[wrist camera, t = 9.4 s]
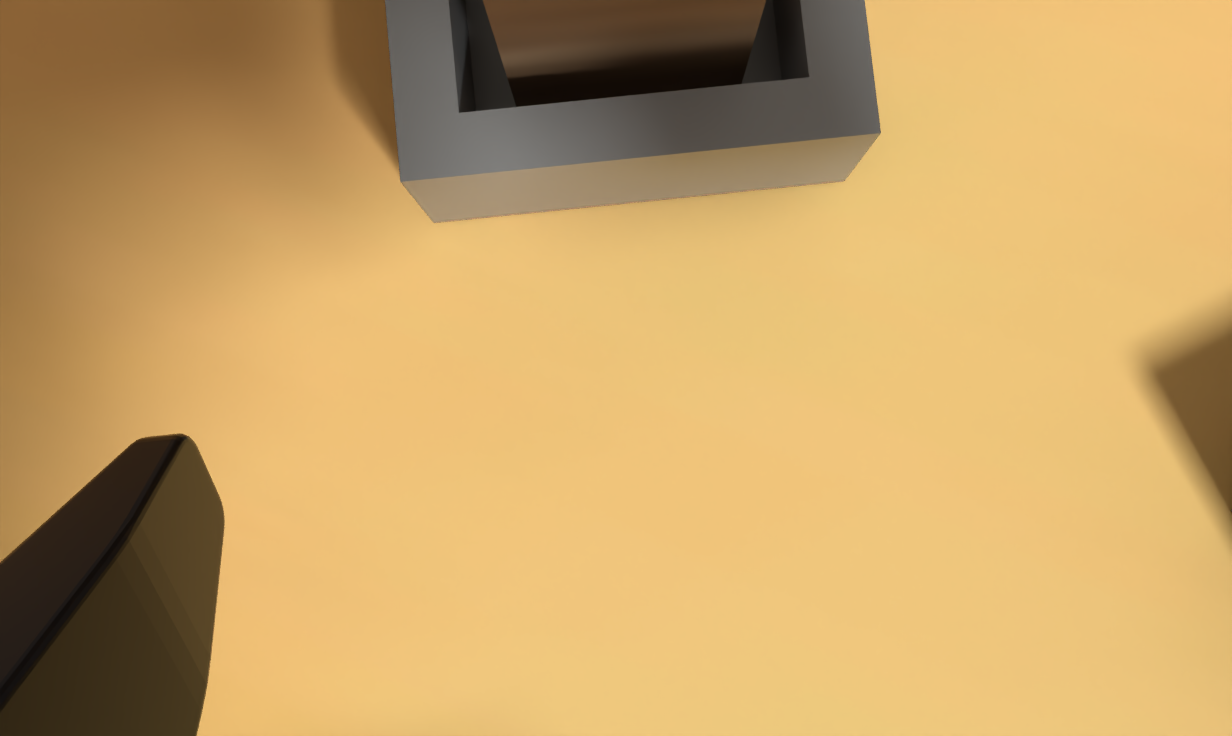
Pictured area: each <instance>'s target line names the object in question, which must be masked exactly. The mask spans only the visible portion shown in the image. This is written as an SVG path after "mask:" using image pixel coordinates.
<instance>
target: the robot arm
mask: <svg viewBox="0 0 1232 736" xmlns="http://www.w3.org/2000/svg"><path fill="white" fill-rule="evenodd" d="M223 536H224V511H223V506H222V502H221V499H220V497H219V494H218V492H217V490H216V488H215V485H214V483H213V481H212V479H211V477H210V474H209V472H208V470H207V468H206V465H205V463H204V461H203V459H202V456H201V454H200V452H199V450H198V448H197V446H196V444H195V443H194V441H193V440H192V439H191V438H190V437H189V436H187V435H184V434H170V435H161V436H152V437H145V438H141V439H138V440H136V441H135V442H134V443H132V444H131V445H130V446H129V447H128V448H127V449H125V450H124V451H123V452H122V453H121V454H120V455H119V456H118V457H117V458H115V459H114V460H113V461H112V462H111V463H110V464H109V465H108V466H107V467H105V468H104V469H103V470H102V471H101V472H100V473H99V474H98V475H97V476H96V477H94V478H93V479H92V480H91V481H90V482H89V483H88V484H87V485H86V486H84V487H83V488H82V489H81V490H80V491H79V492H78V493H77V494H76V495H74V496H73V497H72V498H71V499H70V500H69V501H68V502H67V503H66V504H65V505H63V506H62V507H61V508H60V509H59V510H58V511H57V512H56V513H55V514H53V515H52V516H51V517H50V518H49V519H48V520H47V521H46V522H45V523H43V524H42V525H41V526H40V527H39V528H38V529H37V530H36V531H35V532H34V533H32V534H31V535H30V536H29V537H28V538H27V539H26V540H25V541H24V542H22V543H21V544H20V545H19V546H18V547H17V548H16V549H15V550H14V551H12V552H11V553H10V554H9V555H8V556H7V557H6V558H5V559H4V560H3V561H1V562H0V736H197V731H198V727H199V722H200V718H201V714H202V709H203V704H204V699H205V694H206V689H207V683H208V676H209V668H210V661H211V651H212V642H213V632H214V622H215V613H216V603H217V594H218V584H219V574H220V565H221V555H222V545H223Z"/></svg>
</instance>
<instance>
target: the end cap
mask: <svg viewBox="0 0 1232 736" xmlns="http://www.w3.org/2000/svg"><path fill="white" fill-rule="evenodd" d="M385 6H386V18H387V30H388V41H389V53H390V65H391V77H392V88H393V100H394V112H395V123H396V135H397V147H398V158H399V170H400V182H401V183H402V184H403V186H404V187H405V188H406V189H407V191H408V192H409V193H410V194H411V195H412V197H413V198H414V199H415V200H416V202H417V203H418V204H419V205H420V207H421V208H422V209H423V210H424V211H425V213H426V214H427V215H428V216H429V218H430V219H431V220H432V221H433V223H438V222H448V221H457V220H467V219H477V218H487V217H497V216H507V215H517V214H526V213H536V212H546V211H556V210H566V209H576V208H586V207H595V206H605V205H615V204H625V203H635V202H645V201H655V200H664V199H674V198H684V197H694V196H704V195H714V194H723V193H733V192H743V191H753V190H763V189H773V188H783V187H792V186H802V185H812V184H822V183H832V182H842V181H845V180H846V178H847V177H848V176H849V174H850V173H851V172H852V170H853V169H854V168H855V166H856V165H857V164H858V162H859V161H860V160H861V159H862V157H863V156H864V155H865V153H866V152H867V151H868V149H869V148H870V147H871V145H872V144H873V143H874V141H875V140H876V139H877V137H878V136H879V135H880V133H881V131H880V123H879V115H878V106H877V98H876V90H875V82H874V74H873V66H872V58H871V50H870V41H869V33H868V25H867V17H866V9H865V1H864V0H766V2H765V6H764V9H763V13H762V16H761V19H760V23H759V26H758V30H757V33H756V36H755V40H754V43H753V47H752V50H751V53H750V57H749V60H748V64H747V67H746V70H745V74H744V77H743V80H742V84H738V85H728V86H718V87H708V88H698V89H689V90H679V91H669V92H659V93H649V94H639V95H630V96H620V97H610V98H600V99H590V100H580V101H571V102H561V103H551V104H541V105H531V106H522V107H516V104H515V101H514V98H513V94H512V91H511V88H510V85H509V82H508V79H507V75H506V72H505V69H504V66H503V63H502V60H501V56H500V53H499V50H498V47H497V44H496V41H495V37H494V34H493V31H492V28H491V25H490V22H489V18H488V15H487V12H486V9H485V6H484V3H483V0H385Z"/></svg>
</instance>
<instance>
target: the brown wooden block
mask: <svg viewBox="0 0 1232 736" xmlns="http://www.w3.org/2000/svg"><path fill="white" fill-rule="evenodd" d="M765 2H766V0H483V3H484V6H485V9H486V12H487V15H488V18H489V22H490V25H491V28H492V31H493V34H494V37H495V41H496V44H497V47H498V50H499V53H500V56H501V60H502V63H503V66H504V69H505V72H506V75H507V79H508V82H509V85H510V88H511V91H512V94H513V98H514V101H515V104H516V107H522V106H531V105H541V104H551V103H561V102H571V101H580V100H590V99H600V98H610V97H620V96H630V95H639V94H649V93H659V92H669V91H679V90H689V89H698V88H708V87H718V86H728V85H738V84H742V80H743V77H744V74H745V70H746V67H747V64H748V60H749V57H750V53H751V50H752V47H753V43H754V40H755V36H756V33H757V30H758V26H759V23H760V19H761V16H762V13H763V9H764V6H765Z"/></svg>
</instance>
